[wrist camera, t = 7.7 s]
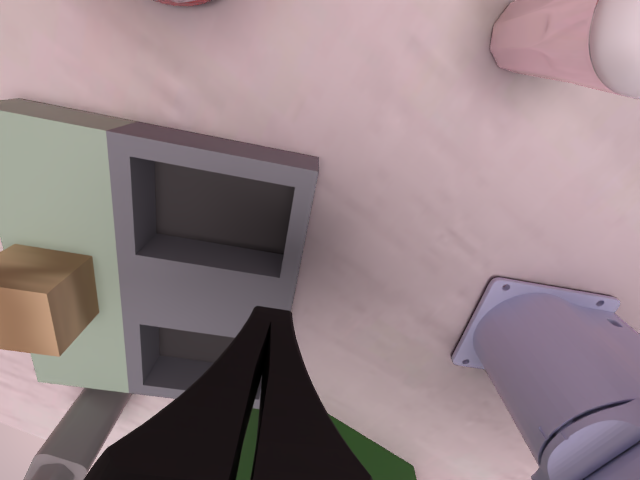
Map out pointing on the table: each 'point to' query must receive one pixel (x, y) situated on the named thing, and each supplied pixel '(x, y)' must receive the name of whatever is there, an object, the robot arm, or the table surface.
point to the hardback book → (385, 468)
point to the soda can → (182, 2)
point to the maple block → (44, 299)
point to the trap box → (153, 237)
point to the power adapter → (78, 436)
